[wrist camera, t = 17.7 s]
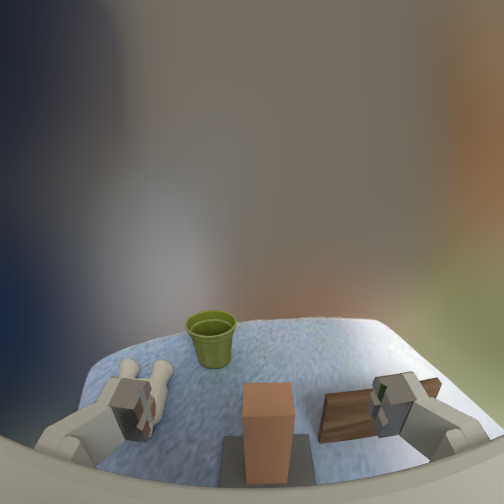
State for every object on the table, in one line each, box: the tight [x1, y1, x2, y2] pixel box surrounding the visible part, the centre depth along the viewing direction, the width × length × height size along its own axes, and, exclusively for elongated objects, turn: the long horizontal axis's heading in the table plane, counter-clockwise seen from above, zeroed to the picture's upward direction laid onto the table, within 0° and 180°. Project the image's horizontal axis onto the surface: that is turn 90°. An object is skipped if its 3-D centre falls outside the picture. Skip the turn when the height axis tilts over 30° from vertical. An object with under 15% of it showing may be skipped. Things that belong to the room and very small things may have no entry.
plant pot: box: [185, 310, 237, 369], centre depth 58 cm, size 9×9×9 cm
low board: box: [318, 378, 442, 443], centre depth 38 cm, size 2×17×9 cm, turn 90°
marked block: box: [242, 382, 295, 484], centre depth 32 cm, size 5×5×14 cm
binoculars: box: [119, 359, 174, 438], centre depth 46 cm, size 10×16×5 cm, turn 3°
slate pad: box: [220, 434, 316, 488], centre depth 34 cm, size 12×12×1 cm
